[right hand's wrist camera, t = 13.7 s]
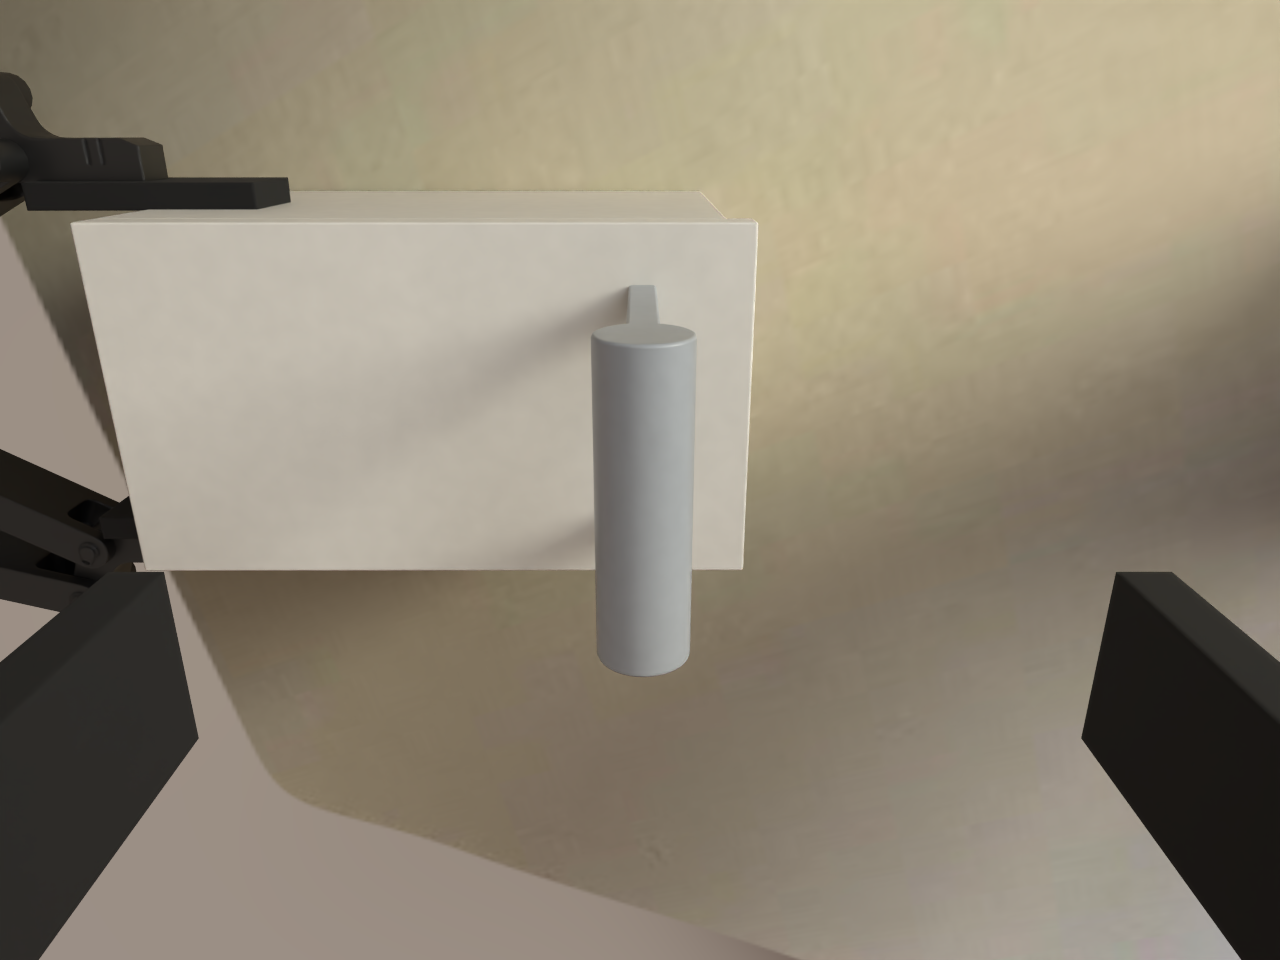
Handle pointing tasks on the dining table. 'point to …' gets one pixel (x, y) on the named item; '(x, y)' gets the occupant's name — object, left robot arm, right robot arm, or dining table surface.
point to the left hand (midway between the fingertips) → (296, 362)
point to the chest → (463, 206)
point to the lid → (437, 399)
